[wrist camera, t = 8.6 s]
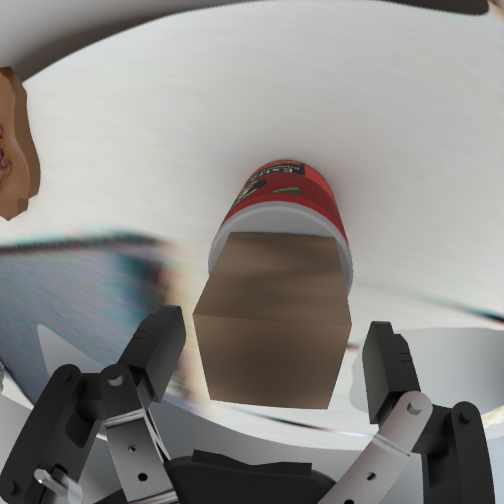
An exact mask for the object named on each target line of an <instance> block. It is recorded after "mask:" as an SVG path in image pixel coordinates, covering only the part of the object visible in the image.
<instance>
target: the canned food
mask: <svg viewBox="0 0 504 504" xmlns="http://www.w3.org/2000/svg"><path fill="white" fill-rule="evenodd" d="M230 233H251V234H274V235H294V236H314V237H333V238H335V239H336V244H337V248H338V253H339V258H340V263H341V268H342V273H343V278H344V283H345V288H346V294H347V297H348V295H349V292H350V289H351V285H352V277H353V268H352V265H353V264H352V259H351V253H350V249H349V245H348V241H347V237H346V234H345V231H344V227H343V224H342V221H341V218H340V215H339V212H338V209H337V206H336V203H335V200H334V197H333V194H332V191H331V189H330V187H329V185H328V184H327V182H326V181H325V179H324V178H323V177H322V176H321V175H320V174H319V173H318V172H317V171H316V170H314V169H312V168H311V167H309V166H307V165H305V164H302V163H299V162H296V161H289V160H285V161H276V162H272V163H268V164H266V165H264V166H262V167H260V168H259V169H258V170H257V171H255V172H254V173H253V174H252V175H251V177H250V178H249V179H248V180H247V182H246V184H245V185H244V187H243V189H242V190H241V192H240V194H239V195H238V197H237V199H236V200H235V202H234V204H233V205H232V207H231V209H230V210H229V212H228V214H227V215H226V217H225V219H224V221H223V222H222V224H221V226H220V228H219V230H218V232H217V234H216V236H215V238H214V241H213V243H212V247H211V250H210V255H209V260H208V267H209V276H210V275H211V272H212V270H213V268H214V266H215V264H216V262H217V260H218V257H219V255H220V253H221V251H222V249H223V247H224V245H225V243H226V240H227V238H228V236H229V234H230Z"/></svg>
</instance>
